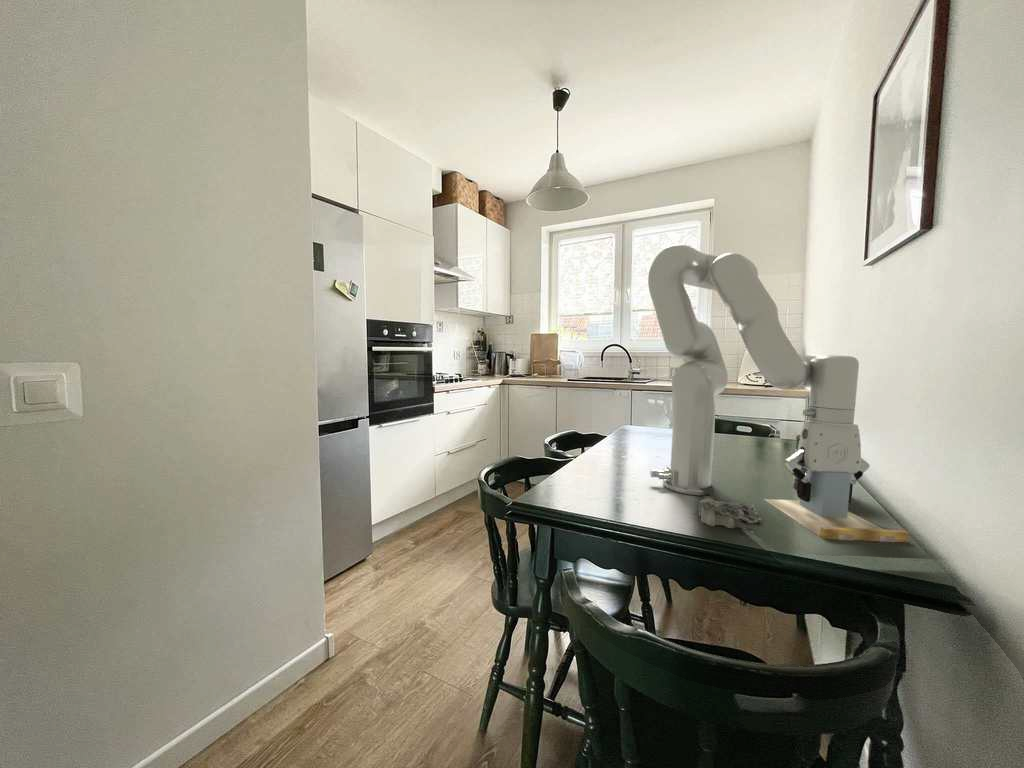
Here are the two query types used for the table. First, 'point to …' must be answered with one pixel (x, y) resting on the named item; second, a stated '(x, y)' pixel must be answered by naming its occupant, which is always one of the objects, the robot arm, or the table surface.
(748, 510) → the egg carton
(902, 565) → the table surface
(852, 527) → the shelf
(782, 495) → the table surface
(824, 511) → the carton
